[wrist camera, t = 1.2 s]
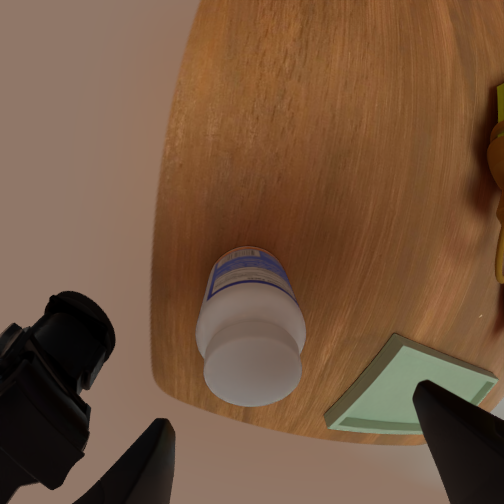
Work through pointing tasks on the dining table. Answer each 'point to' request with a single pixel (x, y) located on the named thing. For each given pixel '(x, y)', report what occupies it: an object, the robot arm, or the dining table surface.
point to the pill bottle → (250, 329)
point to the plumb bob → (498, 175)
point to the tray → (403, 388)
